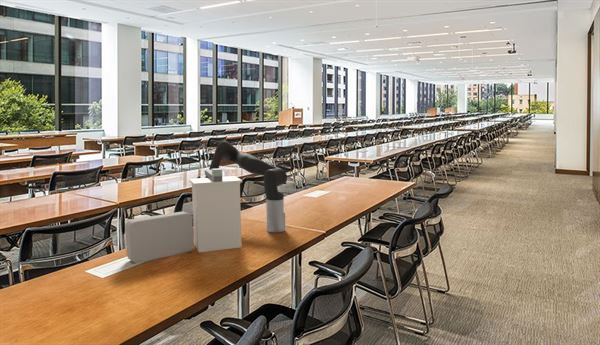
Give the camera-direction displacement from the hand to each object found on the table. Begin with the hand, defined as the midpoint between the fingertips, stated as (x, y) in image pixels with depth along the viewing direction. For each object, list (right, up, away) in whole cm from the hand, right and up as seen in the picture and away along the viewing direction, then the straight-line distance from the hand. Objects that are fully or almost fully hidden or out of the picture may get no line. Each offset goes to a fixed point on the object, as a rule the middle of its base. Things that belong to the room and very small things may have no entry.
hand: (208, 177), depth 229 cm
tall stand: (+7, -33, -14) cm, 36 cm away
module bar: (+5, 0, -13) cm, 14 cm away
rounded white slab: (-15, -35, -27) cm, 47 cm away
